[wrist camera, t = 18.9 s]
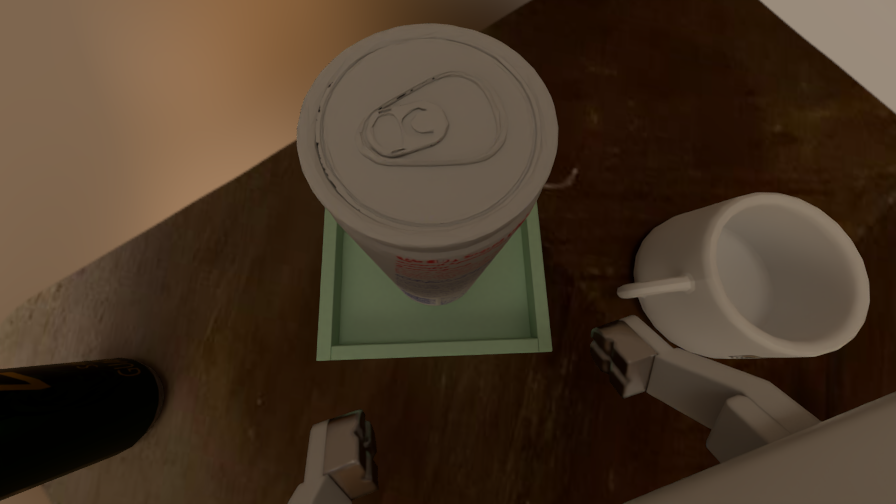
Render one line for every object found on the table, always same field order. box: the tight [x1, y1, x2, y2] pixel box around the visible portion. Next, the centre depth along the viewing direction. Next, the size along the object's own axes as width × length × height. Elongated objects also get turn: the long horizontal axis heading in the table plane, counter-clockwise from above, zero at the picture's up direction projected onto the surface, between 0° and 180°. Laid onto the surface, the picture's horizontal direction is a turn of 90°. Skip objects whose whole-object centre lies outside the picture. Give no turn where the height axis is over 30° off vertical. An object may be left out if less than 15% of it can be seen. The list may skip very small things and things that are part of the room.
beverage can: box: [297, 23, 558, 306], centre depth 14 cm, size 6×6×15 cm
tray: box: [317, 201, 552, 361], centre depth 21 cm, size 14×12×2 cm
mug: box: [617, 193, 870, 359], centre depth 19 cm, size 12×10×6 cm
